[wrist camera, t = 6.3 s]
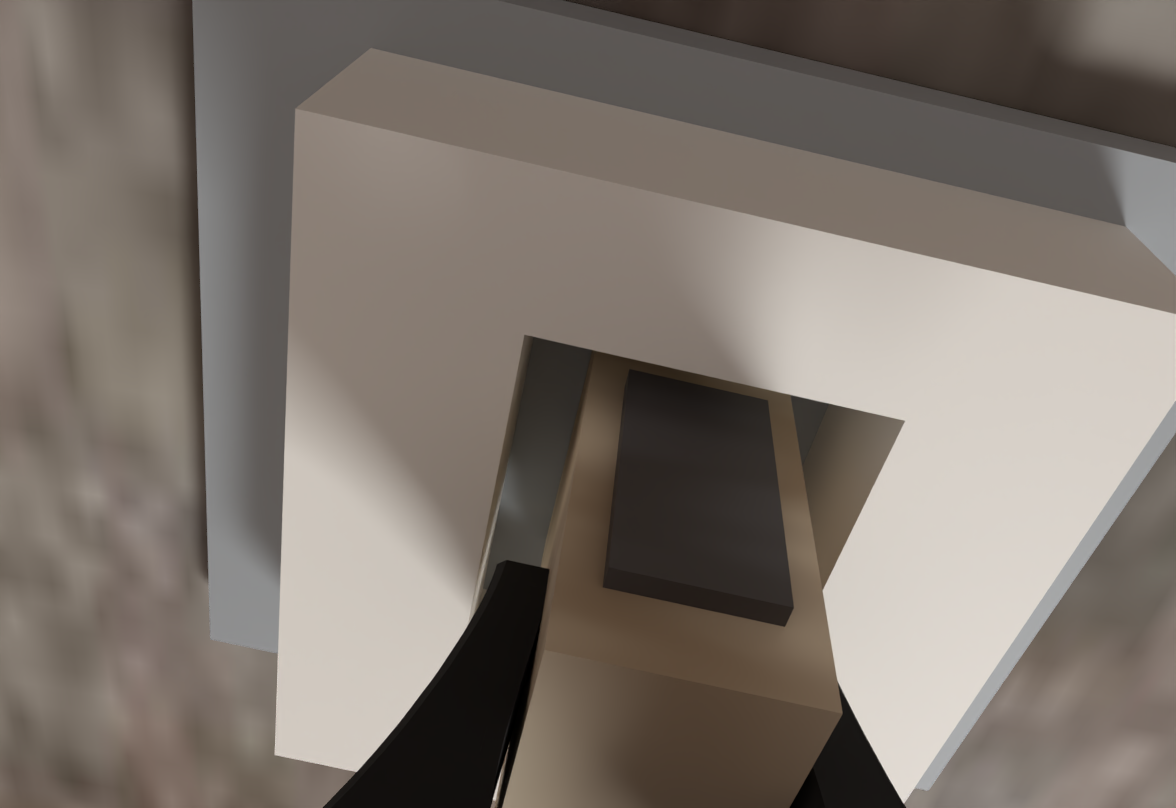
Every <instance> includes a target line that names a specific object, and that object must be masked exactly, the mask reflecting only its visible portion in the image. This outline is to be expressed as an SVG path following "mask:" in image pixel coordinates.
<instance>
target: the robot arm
mask: <svg viewBox="0 0 1176 808" xmlns="http://www.w3.org/2000/svg"><path fill="white" fill-rule="evenodd" d="M548 576H549V569H547V568H542V567H538V566H533V565H529V564H524V563H519V562H515V561H510V560H505V561H503V562H500V563H498V564H497V566H496V569H495V572H494V575H493V577H492V580H491V582H490V584H489V587H488V589H487V591H486V593H485V595H484V597H483V599H482V601H481V603H480V605H479V607H478V609H477V610H476V612H475V614H474V616H473V617H472V619H471V621H470V622H469V624H468V626H467V628H466V629H465V631H464V633H463V634H462V636H461V637H460V639H459V640H458V642H457V643H456V645H455V646H454V648H453V649H452V651H451V652H450V654H449V655H448V657H447V658H446V660H445V662H444V663H443V665H442V666H441V668H440V669H439V671H438V672H437V673H436V675H435V676H434V678H433V679H432V680H431V682H430V683H429V684H428V686H427V687H426V688H425V690H424V691H423V692H422V694H421V695H420V696H419V697H418V699H417V700H416V701H415V703H414V704H413V705H412V707H411V708H410V709H409V711H408V712H407V713H406V715H405V716H404V717H403V718H402V720H401V721H400V722H399V723H398V725H397V726H396V727H395V728H394V730H393V731H392V732H391V733H390V734H389V736H388V737H387V738H386V739H385V740H384V742H383V743H382V744H381V745H380V746H379V747H378V749H377V750H376V751H375V752H374V753H373V754H372V755H371V757H370V758H369V759H368V760H367V761H366V762H365V763H364V764H363V766H362V767H361V768H360V769H359V770H358V771H357V772H356V773H355V774H354V776H353V777H352V778H351V779H350V780H349V781H348V782H347V783H346V784H345V785H344V786H343V787H342V788H341V789H340V790H339V791H338V792H337V793H336V794H335V795H334V796H333V798H332V799H331V800H330V801H329V802H328V803H327V804H326V805H325V806H324V807H323V808H490V807H491V804H492V800H493V797H494V794H495V790H496V787H497V783H498V780H499V777H500V773H501V770H502V766H503V763H504V759H505V756H506V753H507V749H508V746H509V742H510V739H511V735H512V731H513V727H514V723H515V719H516V715H517V711H518V707H519V704H520V700H521V696H522V692H523V688H524V684H525V680H526V676H527V672H528V668H529V665H530V661H531V657H532V653H533V649H534V645H535V641H536V637H537V633H538V630H539V626H540V622H541V618H542V614H543V609H544V602H545V596H546V590H547V583H548ZM837 682H838V681H837ZM838 688H839V694H840V700H841V706H842V712H843V714H842V716H841V718H840V719H839V721H838V723H837V725H836V726H835V728H834V730H833V732H832V733H831V735H830V737H829V739H828V740H827V742H826V744H825V746H824V748H823V749H822V751H821V753H820V755H819V756H818V758H817V760H816V762H815V763H814V765H813V767H812V769H811V770H810V772H809V774H808V776H807V778H806V779H805V781H804V783H803V785H802V786H801V788H800V790H799V792H798V793H797V795H796V797H795V799H794V800H793V802H792V804H791V806H790V808H906V807H905V805H904V803H903V802H902V800H901V798H900V797H899V795H898V793H897V791H896V790H895V788H894V786H893V784H892V783H891V781H890V779H889V778H888V776H887V774H886V772H885V770H884V769H883V767H882V765H881V763H880V761H879V759H878V758H877V756H876V754H875V752H874V750H873V748H872V747H871V745H870V743H869V741H868V739H867V738H866V736H865V734H864V732H863V730H862V728H861V726H860V724H859V722H858V721H857V719H856V717H855V715H854V713H853V711H852V709H851V707H850V705H849V703H848V701H847V699H846V697H845V695H844V693H843V691H842V689H841V687H840V685H839V683H838Z"/></svg>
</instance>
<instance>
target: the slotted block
mask: <svg viewBox="0 0 1176 808" xmlns="http://www.w3.org/2000/svg"><path fill="white" fill-rule="evenodd" d="M192 7H193V42H194V78H195V114H196V149H197V185H198V221H199V256H200V292H201V328H202V363H203V399H204V434H205V470H206V506H207V541H208V577H209V613H210V639H211V640H216V641H221V642H225V643H230V644H235V645H240V646H244V647H249V648H254V649H258V650H263V651H268V652H273V653H277V654H278V671H277V703H276V734H275V755H278V756H282V757H287V758H292V759H297V760H302V761H307V762H312V763H316V764H321V765H326V766H331V767H336V768H341V769H345V770H350V771H355V772H357V771H358V770H359V769H360V768H361V767H362V766H363V764H364V763H365V762H366V761H367V760H368V759H369V758H370V757H371V755H372V754H373V753H374V752H375V751H376V750H377V749H378V747H379V746H380V745H381V744H382V743H383V742H384V740H385V739H386V738H387V737H388V736H389V734H390V733H391V732H392V731H393V730H394V728H395V727H396V726H397V725H398V723H399V722H400V721H401V720H402V718H403V717H404V716H405V715H406V713H407V712H408V711H409V709H410V708H411V707H412V705H413V704H414V703H415V701H416V700H417V699H418V697H419V696H420V695H421V694H422V692H423V691H424V690H425V688H426V687H427V686H428V684H429V683H430V682H431V680H432V679H433V678H434V676H435V675H436V673H437V672H438V671H439V669H440V668H441V666H442V665H443V663H444V662H445V660H446V658H447V657H448V655H449V654H450V652H451V651H452V649H453V648H454V646H455V645H456V643H457V642H458V640H459V639H460V637H461V636H462V634H463V633H464V631H465V629H466V628H467V626H468V624H469V622H470V621H471V619H472V617H473V616H474V614H475V612H476V610H477V609H478V607H479V605H480V603H481V601H482V599H483V597H484V595H485V593H486V591H487V589H488V587H489V584H490V582H491V580H492V577H493V575H494V572H495V569H496V566H497V564H498V563H500V562H503V561H505V560H510V561H515V562H519V563H524V564H529V565H533V566H538V567H541V562H542V557H543V552H544V546H545V541H546V537H547V533H548V529H549V525H550V521H551V517H552V512H553V508H554V504H555V500H556V496H557V492H558V488H559V484H560V480H561V476H562V472H563V467H564V463H565V459H566V455H567V451H568V447H569V443H570V439H571V435H572V431H573V427H574V422H575V418H576V414H577V410H578V406H579V402H580V398H581V394H582V390H583V386H584V382H585V377H586V373H587V369H588V365H589V361H590V357H591V353H592V350H595V351H599V352H603V353H608V354H612V355H617V356H621V357H625V358H630V359H634V360H639V361H643V362H648V363H652V364H656V365H661V366H665V367H670V368H674V369H678V370H683V371H687V372H692V373H696V374H701V375H705V376H709V377H714V378H718V379H723V380H727V381H731V382H736V383H740V384H745V385H749V386H754V387H758V388H762V389H767V390H771V391H776V392H780V393H785V394H789V395H790V396H791V402H792V408H793V414H794V420H795V426H796V432H797V438H798V444H799V450H800V457H801V463H802V469H803V475H804V481H805V487H806V493H807V499H808V505H809V511H810V517H811V524H812V530H813V536H814V542H815V548H816V554H817V560H818V566H819V572H820V578H821V584H822V590H823V597H824V603H825V609H826V615H827V621H828V627H829V633H830V639H831V645H832V651H833V657H834V664H835V670H836V676H837V681H838V683H839V685H840V687H841V689H842V691H843V693H844V695H845V697H846V699H847V701H848V703H849V705H850V707H851V709H852V711H853V713H854V715H855V717H856V719H857V721H858V722H859V724H860V726H861V728H862V730H863V732H864V734H865V736H866V738H867V739H868V741H869V743H870V745H871V747H872V748H873V750H874V752H875V754H876V756H877V758H878V759H879V761H880V763H881V765H882V767H883V769H884V770H885V772H886V774H887V776H888V778H889V779H890V781H891V783H892V784H893V786H894V788H895V790H896V791H897V793H898V795H899V797H900V798H901V800H902V802H903V803H905V801H906V800H907V798H908V797H909V795H910V794H911V792H912V791H913V789H914V788H918V789H922V790H927V791H928V790H929V789H930V788H931V786H932V785H933V783H934V782H935V780H936V779H937V777H938V776H939V775H940V773H941V772H942V770H943V769H944V767H945V766H946V764H947V763H948V761H949V760H950V759H951V757H952V756H953V754H954V753H955V751H956V750H957V748H958V747H959V746H960V744H961V743H962V741H963V740H964V738H965V737H966V735H967V734H968V733H969V731H970V730H971V728H972V727H973V725H974V724H975V722H976V721H977V720H978V718H979V717H980V715H981V714H982V712H983V711H984V709H985V708H986V706H987V705H988V704H989V702H990V701H991V699H992V698H993V696H994V695H995V693H996V692H997V691H998V689H999V688H1000V686H1001V685H1002V683H1003V682H1004V680H1005V679H1006V678H1007V676H1008V675H1009V673H1010V672H1011V670H1012V669H1013V667H1014V666H1015V664H1016V663H1017V662H1018V660H1019V659H1020V657H1021V656H1022V654H1023V653H1024V651H1025V650H1026V649H1027V647H1028V646H1029V644H1030V643H1031V641H1032V640H1033V638H1034V637H1035V636H1036V634H1037V633H1038V631H1039V630H1040V628H1041V627H1042V625H1043V624H1044V622H1045V621H1046V620H1047V618H1048V617H1049V615H1050V614H1051V612H1052V611H1053V609H1054V608H1055V607H1056V605H1057V604H1058V602H1059V601H1060V599H1061V598H1062V596H1063V595H1064V594H1065V592H1066V591H1067V589H1068V588H1069V586H1070V585H1071V583H1072V582H1073V581H1074V579H1075V578H1076V576H1077V575H1078V573H1079V572H1080V570H1081V569H1082V567H1083V566H1084V565H1085V563H1086V562H1087V560H1088V559H1089V557H1090V556H1091V554H1092V553H1093V552H1094V550H1095V549H1096V547H1097V546H1098V544H1099V543H1100V541H1101V540H1102V539H1103V537H1104V536H1105V534H1106V533H1107V531H1108V530H1109V528H1110V527H1111V525H1112V524H1113V523H1114V521H1115V520H1116V518H1117V517H1118V515H1119V514H1120V512H1121V511H1122V510H1123V508H1124V507H1125V505H1126V504H1127V502H1128V501H1129V499H1130V498H1131V497H1132V495H1133V494H1134V492H1135V491H1136V489H1137V488H1138V486H1139V485H1140V484H1141V482H1142V481H1143V479H1144V478H1145V476H1146V475H1147V473H1148V472H1149V470H1150V469H1151V468H1152V466H1153V465H1154V463H1155V462H1156V460H1157V459H1158V457H1159V456H1160V455H1161V453H1162V452H1163V450H1164V449H1165V447H1166V446H1167V444H1168V443H1169V442H1170V440H1171V439H1172V437H1173V436H1174V434H1175V433H1176V148H1175V147H1171V146H1167V145H1163V144H1158V143H1154V142H1150V141H1146V140H1142V139H1138V138H1133V137H1129V136H1125V135H1121V134H1117V133H1113V132H1109V131H1104V130H1100V129H1096V128H1092V127H1088V126H1084V125H1079V124H1075V123H1071V122H1067V121H1063V120H1059V119H1055V118H1050V117H1046V116H1042V115H1038V114H1034V113H1030V112H1025V111H1021V110H1017V109H1013V108H1009V107H1005V106H1000V105H996V104H992V103H988V102H984V101H980V100H976V99H971V98H967V97H963V96H959V95H955V94H951V93H946V92H942V91H938V90H934V89H930V88H926V87H921V86H917V85H913V84H909V83H905V82H901V81H897V80H892V79H888V78H884V77H880V76H876V75H872V74H867V73H863V72H859V71H855V70H851V69H847V68H843V67H838V66H834V65H830V64H826V63H822V62H818V61H813V60H809V59H805V58H801V57H797V56H793V55H788V54H784V53H780V52H776V51H772V50H768V49H764V48H759V47H755V46H751V45H747V44H743V43H739V42H734V41H730V40H726V39H722V38H718V37H714V36H710V35H705V34H701V33H697V32H693V31H689V30H685V29H680V28H676V27H672V26H668V25H664V24H660V23H655V22H651V21H647V20H643V19H639V18H635V17H631V16H626V15H622V14H618V13H614V12H610V11H606V10H601V9H597V8H593V7H589V6H585V5H581V4H577V3H572V2H568V1H564V0H192ZM501 771H502V770H501ZM500 776H501V773H500ZM499 781H500V777H499V780H498V783H497V787H496V790H495V794H494V797H493V800H495V801H496V797H497V792H498V786H499Z"/></svg>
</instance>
